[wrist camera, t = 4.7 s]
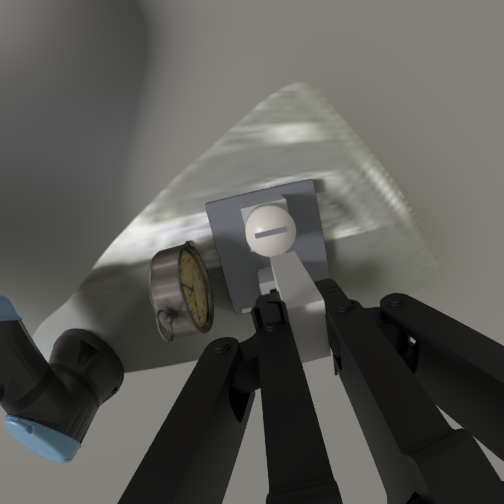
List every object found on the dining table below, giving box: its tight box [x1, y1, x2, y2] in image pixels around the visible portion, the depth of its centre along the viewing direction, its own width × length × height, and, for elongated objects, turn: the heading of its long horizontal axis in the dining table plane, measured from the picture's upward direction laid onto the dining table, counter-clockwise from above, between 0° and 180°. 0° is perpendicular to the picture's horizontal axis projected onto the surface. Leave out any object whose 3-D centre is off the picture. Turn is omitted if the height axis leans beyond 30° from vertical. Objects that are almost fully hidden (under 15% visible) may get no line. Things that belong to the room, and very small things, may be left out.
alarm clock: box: [148, 241, 214, 343], centre depth 32 cm, size 11×5×16 cm, turn 14°
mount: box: [205, 179, 330, 315], centre depth 36 cm, size 14×16×7 cm
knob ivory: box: [245, 204, 296, 257], centre depth 32 cm, size 5×5×8 cm
